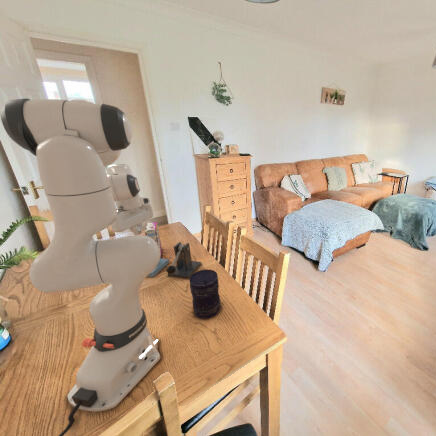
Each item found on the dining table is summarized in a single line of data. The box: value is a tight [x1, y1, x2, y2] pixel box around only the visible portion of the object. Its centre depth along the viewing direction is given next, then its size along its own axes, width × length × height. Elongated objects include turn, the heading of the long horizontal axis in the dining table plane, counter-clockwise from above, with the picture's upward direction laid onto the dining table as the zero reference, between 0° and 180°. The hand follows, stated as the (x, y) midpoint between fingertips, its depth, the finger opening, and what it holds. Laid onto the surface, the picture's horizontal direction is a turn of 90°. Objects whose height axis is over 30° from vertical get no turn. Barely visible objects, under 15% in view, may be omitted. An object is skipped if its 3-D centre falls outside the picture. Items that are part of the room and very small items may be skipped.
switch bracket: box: [167, 241, 202, 280], centre depth 112 cm, size 12×10×14 cm
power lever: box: [165, 243, 185, 274], centre depth 106 cm, size 14×4×4 cm, turn 171°
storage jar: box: [188, 269, 221, 320], centre depth 89 cm, size 10×10×15 cm
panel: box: [147, 257, 170, 278], centre depth 113 cm, size 12×10×4 cm
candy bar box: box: [144, 221, 163, 258], centre depth 123 cm, size 11×5×16 cm, turn 25°
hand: (138, 234), depth 104 cm, fingers closed
